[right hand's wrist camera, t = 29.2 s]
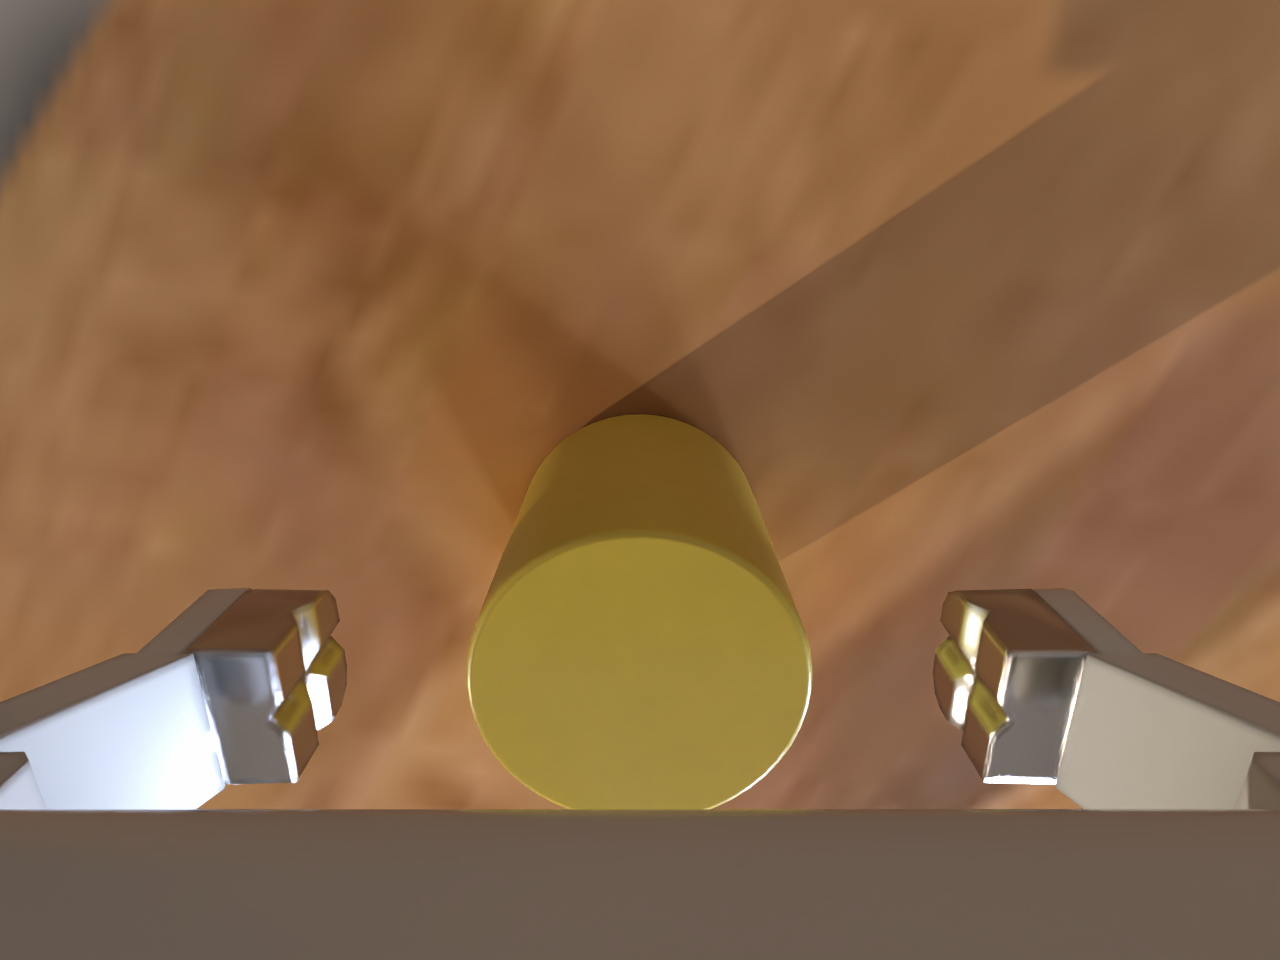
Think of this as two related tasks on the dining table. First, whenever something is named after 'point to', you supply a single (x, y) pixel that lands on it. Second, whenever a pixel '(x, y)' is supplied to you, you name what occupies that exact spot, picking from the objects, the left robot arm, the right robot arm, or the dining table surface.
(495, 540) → the dining table surface
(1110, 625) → the right robot arm
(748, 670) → the canister
